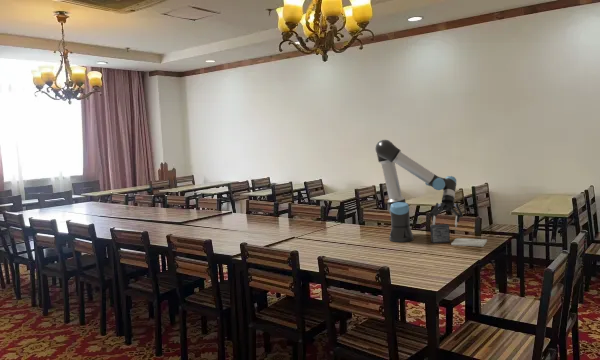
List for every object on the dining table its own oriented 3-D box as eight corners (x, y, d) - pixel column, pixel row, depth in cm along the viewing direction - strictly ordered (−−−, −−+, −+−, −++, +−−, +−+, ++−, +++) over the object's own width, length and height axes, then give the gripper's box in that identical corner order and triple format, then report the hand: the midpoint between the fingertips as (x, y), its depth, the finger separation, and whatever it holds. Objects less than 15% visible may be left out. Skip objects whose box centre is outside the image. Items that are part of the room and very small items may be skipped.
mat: (451, 245, 281) (451, 243, 281) (456, 239, 293) (456, 238, 293) (483, 246, 272) (483, 244, 272) (487, 241, 284) (487, 239, 284)
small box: (448, 240, 294) (447, 223, 293) (450, 242, 288) (449, 225, 287) (430, 241, 295) (429, 224, 294) (432, 243, 289) (431, 226, 288)
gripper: (469, 201, 302) (466, 229, 290) (430, 201, 314) (425, 228, 303) (467, 194, 297) (464, 222, 285) (427, 194, 309) (423, 222, 297)
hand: (444, 225), depth 294 cm, fingers open, 13 cm apart
